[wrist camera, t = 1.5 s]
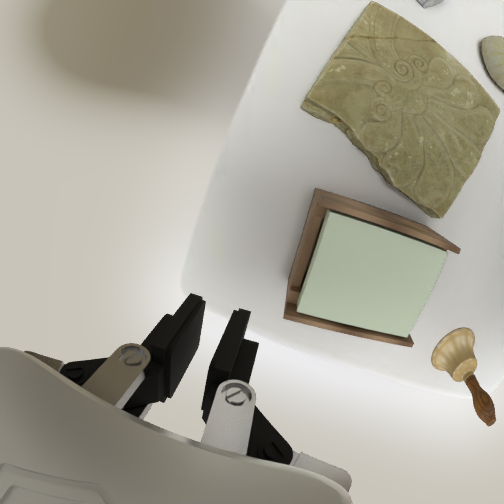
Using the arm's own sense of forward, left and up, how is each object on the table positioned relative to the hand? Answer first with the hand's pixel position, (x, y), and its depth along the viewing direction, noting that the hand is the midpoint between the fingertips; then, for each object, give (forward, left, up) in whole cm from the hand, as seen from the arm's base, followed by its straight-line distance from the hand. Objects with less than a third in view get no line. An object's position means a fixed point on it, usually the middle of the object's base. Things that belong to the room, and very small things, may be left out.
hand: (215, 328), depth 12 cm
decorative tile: (-12, -18, -20) cm, 29 cm away
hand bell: (-33, +10, -19) cm, 40 cm away
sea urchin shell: (-26, -32, -20) cm, 46 cm away
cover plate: (-11, 0, -13) cm, 17 cm away
